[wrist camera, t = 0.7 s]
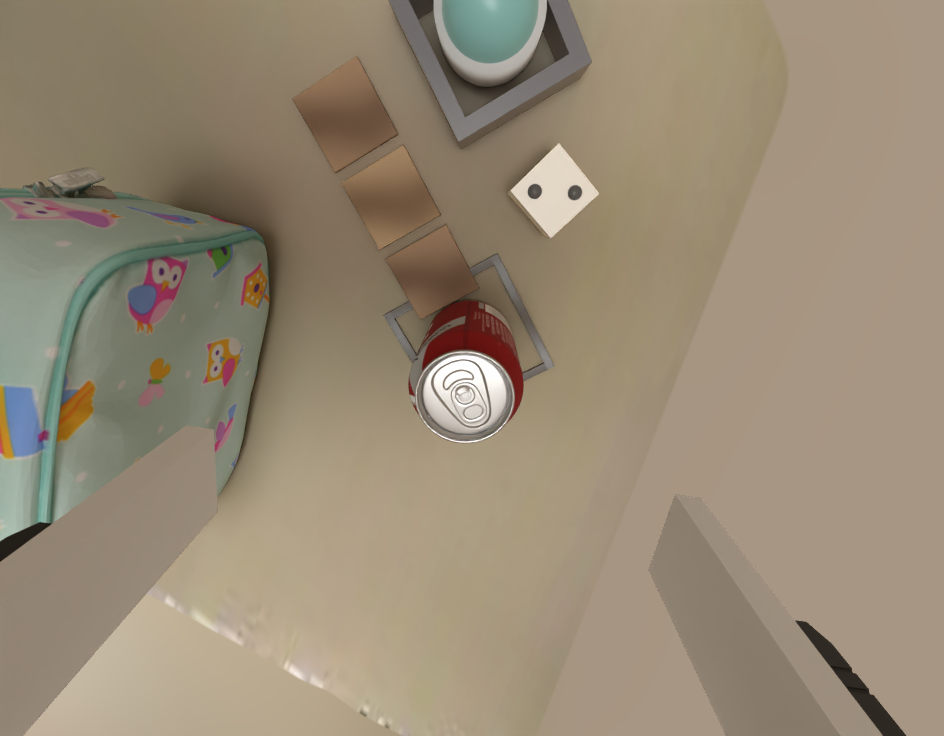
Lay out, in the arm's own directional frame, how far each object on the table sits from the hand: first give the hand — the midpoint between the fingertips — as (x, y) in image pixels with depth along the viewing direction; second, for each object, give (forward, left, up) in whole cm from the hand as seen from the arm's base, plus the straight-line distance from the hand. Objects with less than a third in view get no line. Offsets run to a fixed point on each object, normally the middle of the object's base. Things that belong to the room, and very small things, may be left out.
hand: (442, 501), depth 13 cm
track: (-6, -1, -24) cm, 25 cm away
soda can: (+2, -1, -24) cm, 24 cm away
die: (-5, +9, -24) cm, 26 cm away
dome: (-15, +10, -21) cm, 28 cm away
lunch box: (-7, -21, -24) cm, 33 cm away
